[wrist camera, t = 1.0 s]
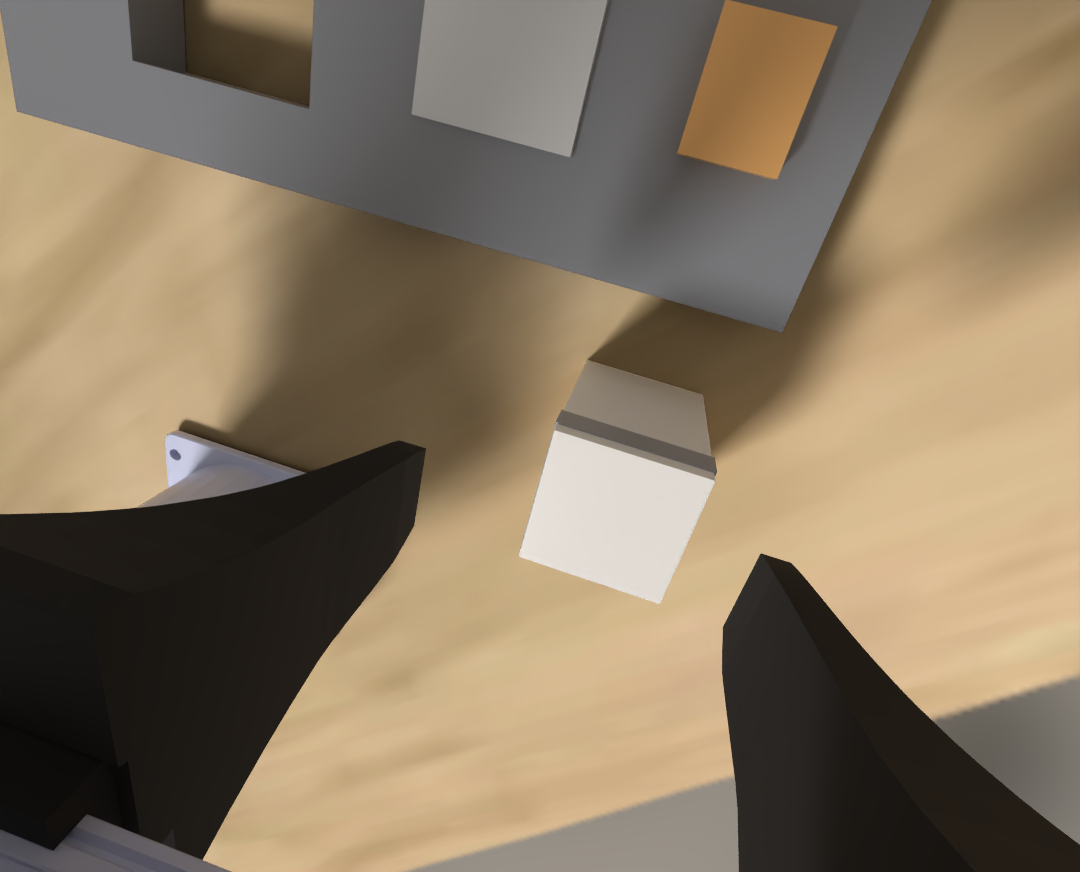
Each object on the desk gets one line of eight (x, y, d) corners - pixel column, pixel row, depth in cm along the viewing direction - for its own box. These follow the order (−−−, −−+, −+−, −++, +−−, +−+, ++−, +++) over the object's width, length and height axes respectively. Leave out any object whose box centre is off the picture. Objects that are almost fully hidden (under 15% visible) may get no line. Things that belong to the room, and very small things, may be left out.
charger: (663, 494, 21) (660, 605, 15) (556, 460, 21) (516, 557, 16) (705, 393, 19) (718, 479, 13) (586, 357, 19) (552, 427, 14)
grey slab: (955, -107, 13) (1030, -183, 10) (770, 317, 17) (788, 342, 15) (25, -311, 15) (-117, -417, 12) (77, 117, 19) (-19, 107, 17)
